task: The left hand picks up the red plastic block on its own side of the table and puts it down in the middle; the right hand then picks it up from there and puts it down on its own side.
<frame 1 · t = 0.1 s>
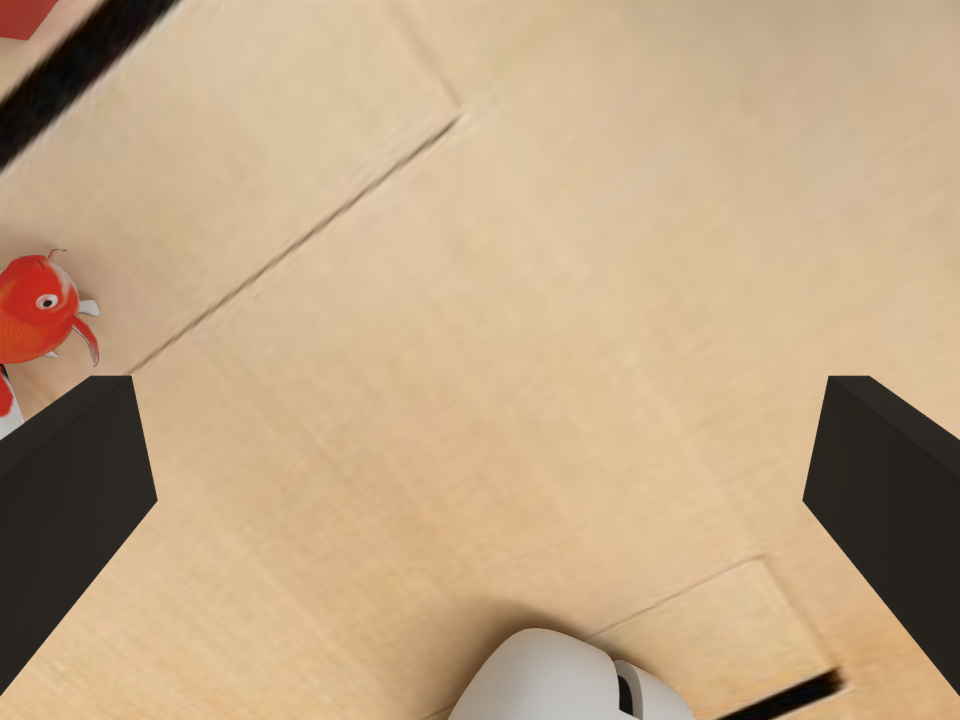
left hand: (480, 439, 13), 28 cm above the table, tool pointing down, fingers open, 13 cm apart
fish: (45, 335, 42), on the table
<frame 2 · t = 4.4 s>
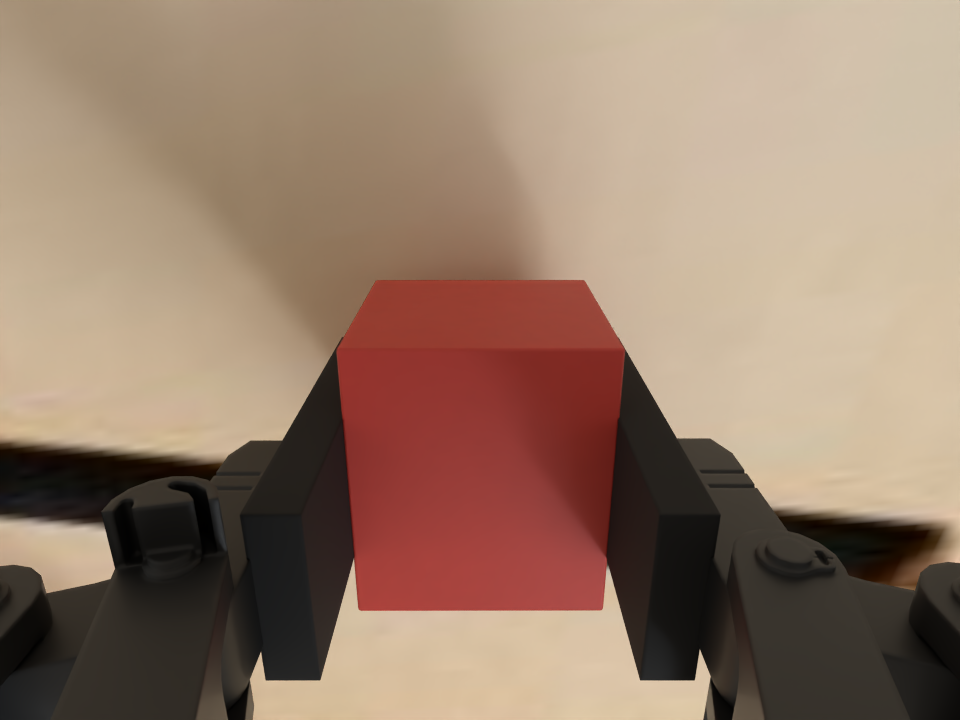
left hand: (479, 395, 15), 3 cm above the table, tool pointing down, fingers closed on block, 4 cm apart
block: (480, 389, 15), point 2 cm above the table, touching left hand
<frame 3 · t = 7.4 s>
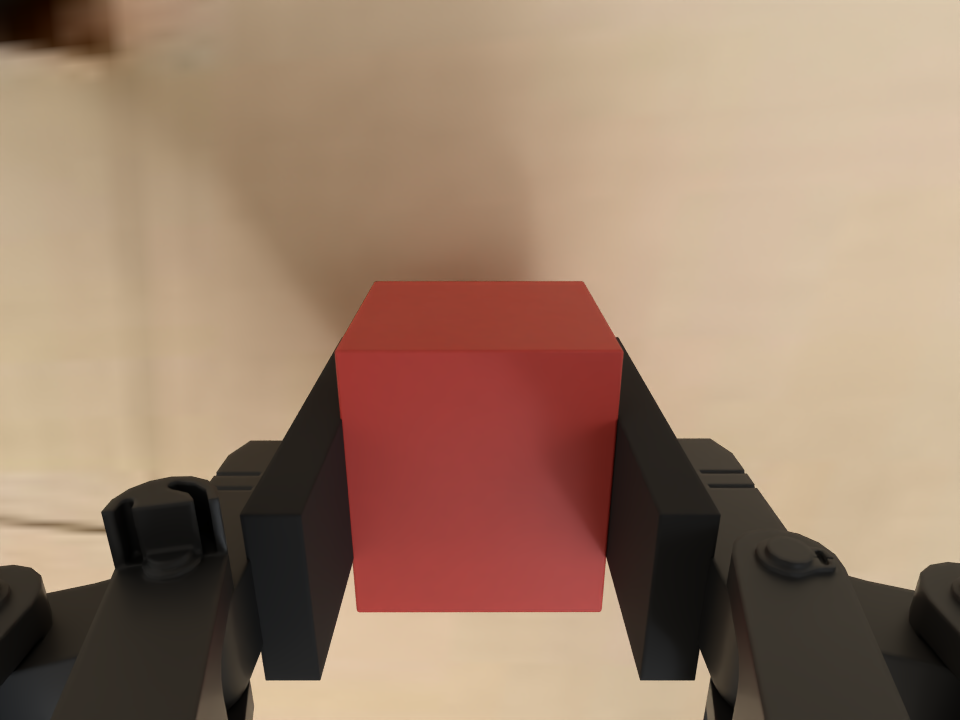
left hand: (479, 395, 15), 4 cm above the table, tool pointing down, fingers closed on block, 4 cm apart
block: (479, 390, 15), point 3 cm above the table, touching left hand
when the left hand's fingers open (0 cm above the table, at t = 10.4 s): block stays where it is, on the table.
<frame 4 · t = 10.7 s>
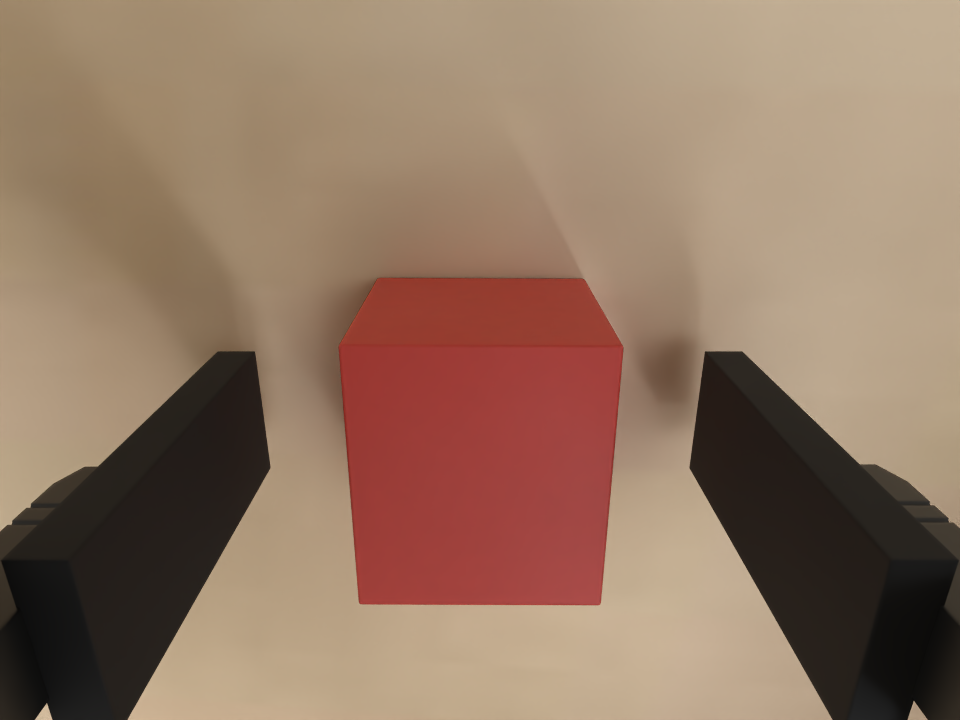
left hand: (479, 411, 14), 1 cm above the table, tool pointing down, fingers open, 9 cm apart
block: (480, 386, 15), on the table
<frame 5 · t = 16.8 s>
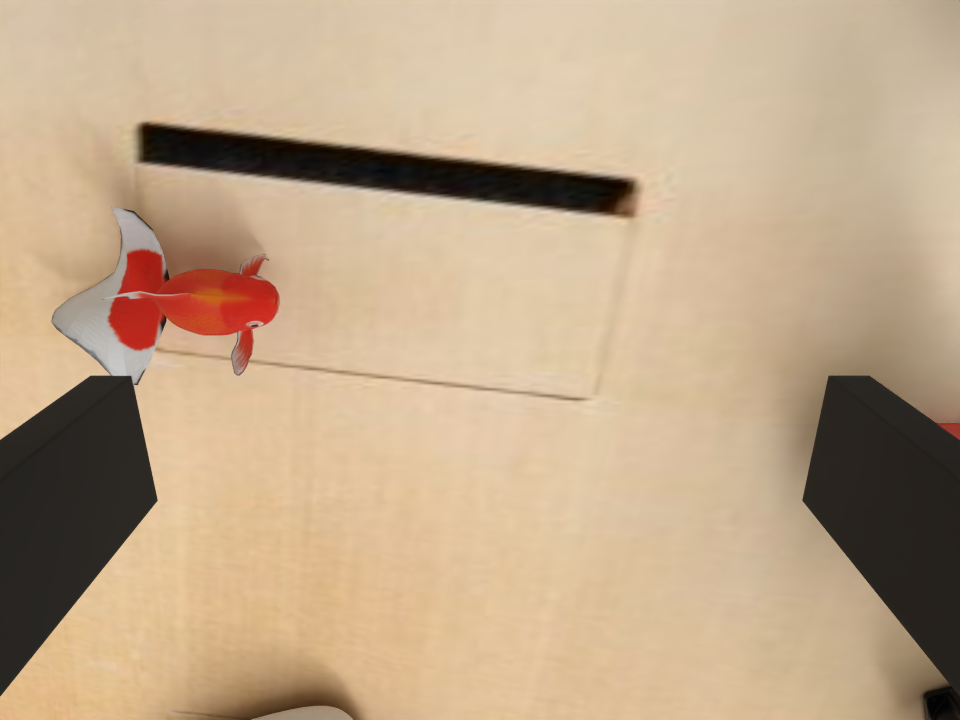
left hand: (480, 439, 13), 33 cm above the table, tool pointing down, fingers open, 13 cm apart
fish: (190, 289, 45), on the table
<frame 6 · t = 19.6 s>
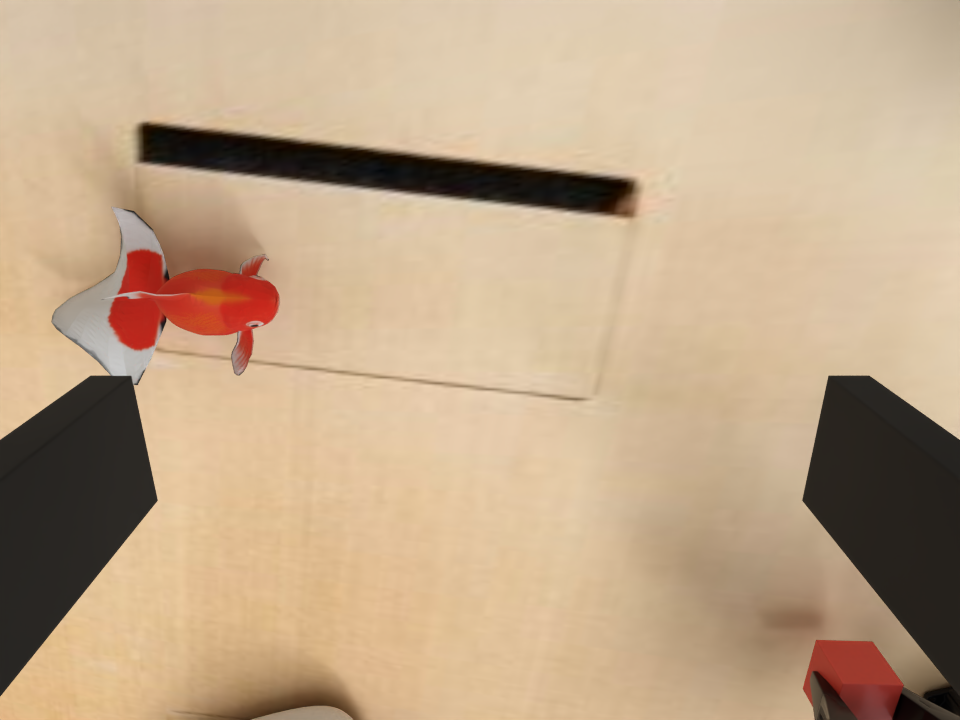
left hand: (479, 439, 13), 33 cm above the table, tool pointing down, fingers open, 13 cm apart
fish: (190, 289, 45), on the table
block: (836, 665, 53), point 4 cm above the table, touching right hand
when the right hand's fingers open (2 cm above the table, at t = 22.8 s): block drops 1 cm, on the table.
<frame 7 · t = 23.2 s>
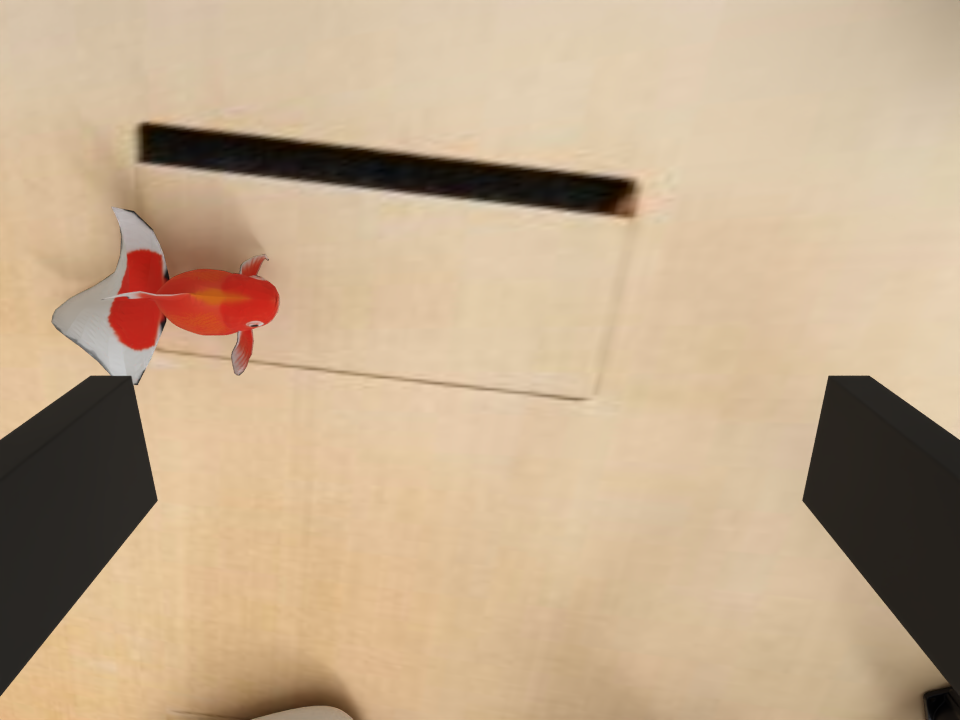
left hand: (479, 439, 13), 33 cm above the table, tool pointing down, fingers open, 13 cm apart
fish: (190, 289, 45), on the table
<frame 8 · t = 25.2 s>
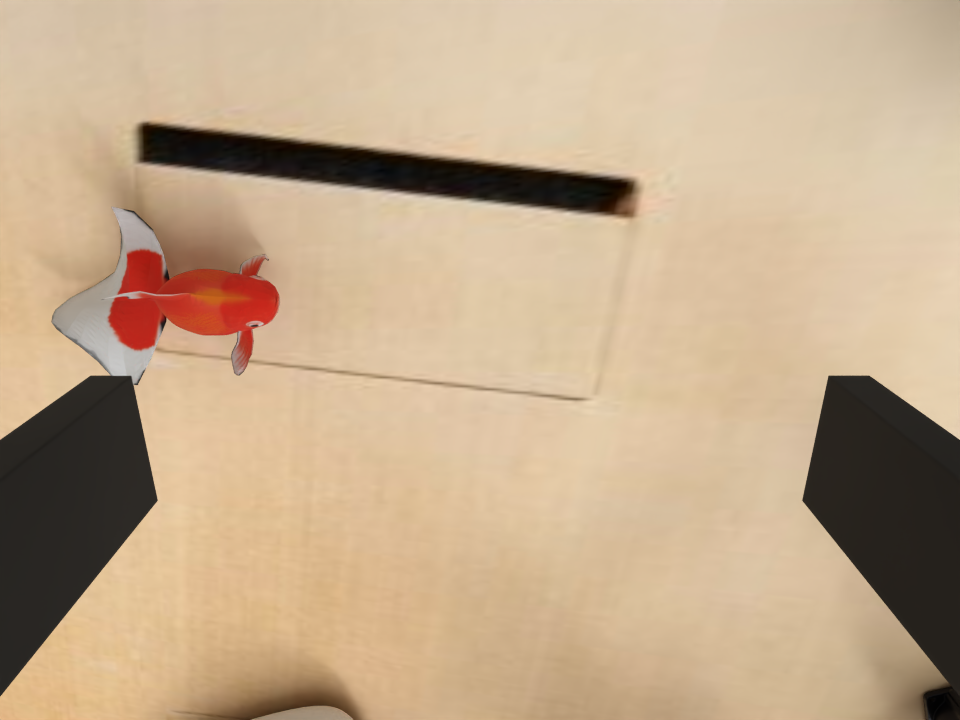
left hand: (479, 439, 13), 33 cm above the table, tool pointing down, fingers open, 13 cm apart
fish: (190, 289, 45), on the table
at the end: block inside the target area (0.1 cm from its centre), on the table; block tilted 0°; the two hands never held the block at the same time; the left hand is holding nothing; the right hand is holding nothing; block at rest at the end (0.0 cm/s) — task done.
